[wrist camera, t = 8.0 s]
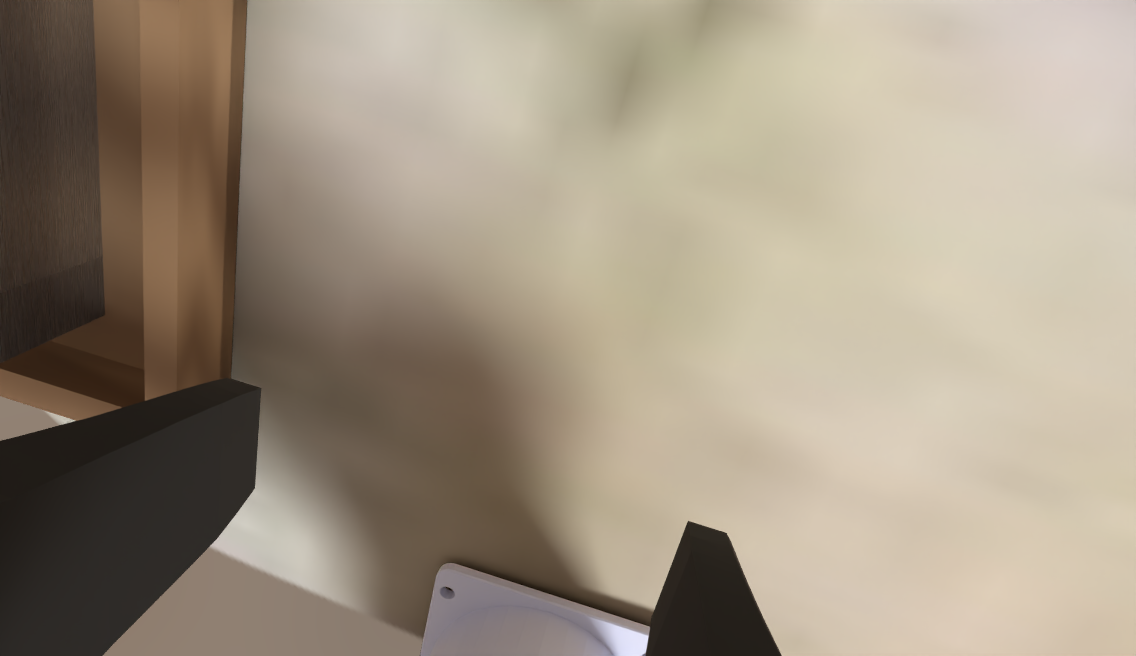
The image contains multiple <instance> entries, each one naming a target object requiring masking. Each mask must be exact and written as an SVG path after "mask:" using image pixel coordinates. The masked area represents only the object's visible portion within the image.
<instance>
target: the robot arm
mask: <svg viewBox="0 0 1136 656" xmlns="http://www.w3.org/2000/svg"><path fill="white" fill-rule="evenodd" d="M260 398H261V388H259V387H255V386H252V385H249V384H246V383H243V382H239V381H236V380H233V379H230V378H223V379H219V380H215V381H211V382H207V383H203V384H199V385H196V386H192V387H189V388H186V389H182V390H179V391H176V392H172V393H169V394H166V395H162V396H159V397H156V398H153V399H149V400H146V401H143V402H139V403H136V404H133V405H129V406H126V407H123V408H119V409H116V410H113V411H110V412H106V413H103V414H100V415H96V416H93V417H89V418H86V419H82V420H78V421H74V422H71V423H67V424H63V425H59V426H56V427H52V428H48V429H45V430H41V431H37V432H34V433H29V434H26V435H22V436H19V437H14V438H11V439H6V440H2V441H0V656H102V655H103V654H104V653H105V652H106V651H107V650H108V649H109V648H110V647H111V646H112V645H113V644H114V643H115V642H116V641H117V640H118V639H119V638H120V637H121V636H122V635H123V634H124V633H125V632H126V631H127V630H128V629H129V627H131V626H132V625H133V624H134V623H135V622H136V621H137V620H138V619H139V618H140V617H141V616H142V614H143V613H145V612H146V610H147V609H148V608H149V607H150V606H151V605H152V604H153V603H154V602H155V601H156V600H157V599H158V598H159V597H160V596H161V595H162V594H163V593H164V592H165V591H166V590H167V589H168V588H169V587H170V586H171V585H172V584H173V583H174V582H175V581H176V580H177V579H178V578H179V577H180V576H181V575H182V574H183V573H184V572H185V571H186V570H187V569H188V568H189V567H190V566H191V565H192V564H193V563H194V562H195V561H196V560H197V559H198V558H199V557H200V556H201V555H202V554H203V553H204V552H205V551H206V550H207V548H208V547H209V546H210V545H211V544H212V543H213V542H214V541H215V540H216V539H217V538H218V537H219V535H220V534H221V533H222V532H223V530H224V529H225V528H226V526H227V525H228V524H229V523H230V521H231V520H232V519H233V517H234V516H235V515H236V513H237V512H238V511H239V509H240V508H241V507H242V505H243V504H244V502H245V501H246V500H247V498H248V497H249V496H250V494H251V493H252V492H253V490H254V489H255V477H256V461H257V446H258V430H259V414H260ZM445 587H449V588H451V589H452V590H453V591H450V590H448V589H446V588H445ZM645 653H646V654H645ZM420 656H782V655H781V653H780V651H779V649H778V647H777V645H776V643H775V641H774V639H773V637H772V635H771V633H770V631H769V629H768V627H767V625H766V623H765V620H764V618H763V616H762V614H761V612H760V610H759V607H758V605H757V603H756V601H755V598H754V596H753V594H752V592H751V589H750V587H749V585H748V582H747V580H746V578H745V575H744V573H743V570H742V568H741V566H740V563H739V561H738V558H737V556H736V553H735V551H734V548H733V546H732V543H731V541H730V539H729V537H728V535H727V533H725V532H722V531H718V530H715V529H712V528H709V527H705V526H702V525H699V524H696V523H693V522H689V521H688V523H687V525H686V528H685V531H684V533H683V536H682V538H681V541H680V544H679V546H678V549H677V552H676V554H675V557H674V560H673V562H672V565H671V568H670V570H669V573H668V576H667V578H666V581H665V583H664V586H663V589H662V591H661V594H660V597H659V599H658V602H657V605H656V607H655V610H654V613H653V615H652V619H651V625H650V627H649V626H646V625H643V624H640V623H637V622H634V621H631V620H628V619H625V618H621V617H618V616H615V615H612V614H609V613H606V612H603V611H600V610H597V609H594V608H591V607H588V606H584V605H581V604H578V603H575V602H572V601H569V600H566V599H563V598H560V597H557V596H554V595H551V594H547V593H544V592H541V591H538V590H535V589H532V588H529V587H526V586H523V585H520V584H517V583H514V582H511V581H507V580H504V579H501V578H498V577H495V576H492V575H489V574H486V573H483V572H480V571H477V570H474V569H470V568H467V567H464V566H461V565H458V564H455V563H446V564H444V565H442V566H441V567H440V569H439V571H438V573H437V575H436V579H435V584H434V589H433V593H432V598H431V603H430V608H429V613H428V618H427V623H426V628H425V633H424V638H423V643H422V648H421V652H420Z"/></svg>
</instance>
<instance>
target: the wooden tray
mask: <svg viewBox="0 0 1136 656" xmlns="http://www.w3.org/2000/svg"><path fill="white" fill-rule="evenodd" d="M93 10H94V37H95V63H96V90H97V116H98V143H99V169H100V196H101V222H102V249H103V275H104V302H105V315H104V316H102V317H100V318H98V319H96V320H94V321H91V322H89V323H87V324H85V325H83V326H80V327H78V328H76V329H74V330H72V331H70V332H67V333H65V334H63V335H61V336H59V337H57V338H54V339H52V340H50V341H48V342H46V343H44V344H41V345H39V346H37V347H35V348H33V349H30V350H28V351H26V352H24V353H22V354H20V355H17V356H15V357H13V358H11V359H9V360H7V361H4V362H2V363H0V396H2V397H5V398H8V399H11V400H14V401H17V402H21V403H23V404H27V405H30V406H33V407H36V408H39V409H42V410H45V411H48V412H51V413H54V414H58V415H61V416H64V417H67V418H70V419H73V420H76V421H78V420H82V419H86V418H89V417H93V416H96V415H100V414H103V413H106V412H110V411H113V410H116V409H119V408H123V407H126V406H129V405H133V404H136V403H139V402H143V401H146V400H149V399H153V398H156V397H159V396H162V395H166V394H169V393H172V392H176V391H179V390H182V389H186V388H189V387H192V386H196V385H199V384H203V383H207V382H211V381H215V380H219V379H223V378H230V379H231V365H232V342H233V319H234V296H235V272H236V249H237V226H238V203H239V180H240V156H241V133H242V110H243V87H244V63H245V40H246V17H247V0H93Z"/></svg>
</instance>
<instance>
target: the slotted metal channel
mask: <svg viewBox="0 0 1136 656" xmlns="http://www.w3.org/2000/svg"><path fill="white" fill-rule="evenodd" d="M104 315H105V302H104V275H103V249H102V222H101V196H100V169H99V143H98V116H97V90H96V63H95V37H94V10H93V0H0V363H2V362H4V361H7V360H9V359H11V358H13V357H15V356H17V355H20V354H22V353H24V352H26V351H28V350H30V349H33V348H35V347H37V346H39V345H41V344H44V343H46V342H48V341H50V340H52V339H54V338H57V337H59V336H61V335H63V334H65V333H67V332H70V331H72V330H74V329H76V328H78V327H80V326H83V325H85V324H87V323H89V322H91V321H94V320H96V319H98V318H100V317H102V316H104Z"/></svg>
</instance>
